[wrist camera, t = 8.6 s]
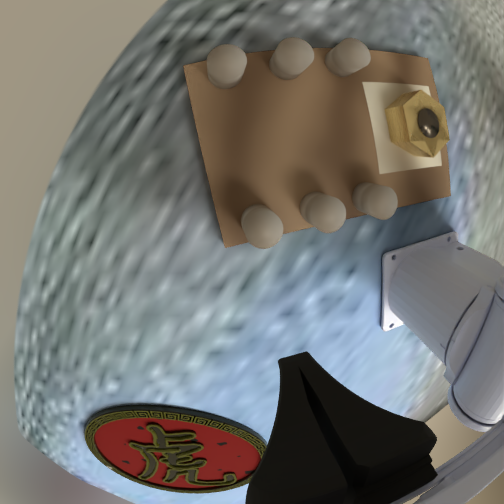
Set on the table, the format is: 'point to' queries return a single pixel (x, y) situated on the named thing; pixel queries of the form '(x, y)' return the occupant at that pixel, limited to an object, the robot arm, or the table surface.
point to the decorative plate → (175, 447)
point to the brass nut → (417, 124)
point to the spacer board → (307, 137)
